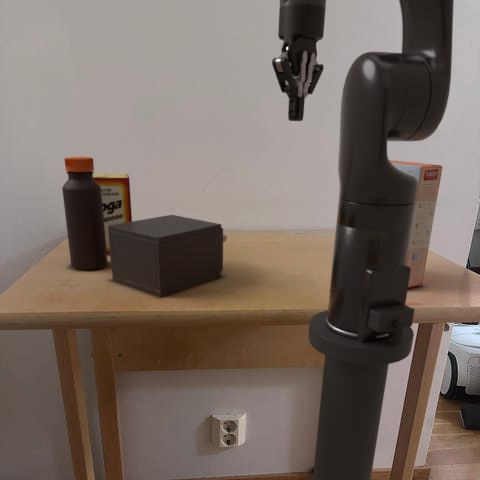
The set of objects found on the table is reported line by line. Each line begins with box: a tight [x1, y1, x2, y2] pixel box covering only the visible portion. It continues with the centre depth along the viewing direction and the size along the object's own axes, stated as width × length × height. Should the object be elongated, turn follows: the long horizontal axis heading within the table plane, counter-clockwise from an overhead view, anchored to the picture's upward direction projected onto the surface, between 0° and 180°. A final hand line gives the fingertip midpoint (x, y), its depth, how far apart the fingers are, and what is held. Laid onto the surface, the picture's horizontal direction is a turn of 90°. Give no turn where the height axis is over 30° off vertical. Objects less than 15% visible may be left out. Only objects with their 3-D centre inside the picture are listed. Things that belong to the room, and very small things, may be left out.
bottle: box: [61, 156, 108, 271], centre depth 91 cm, size 7×7×20 cm
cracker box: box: [389, 159, 443, 289], centre depth 87 cm, size 14×6×21 cm, turn 32°
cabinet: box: [108, 214, 222, 298], centre depth 86 cm, size 15×13×10 cm
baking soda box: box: [93, 172, 133, 255], centre depth 103 cm, size 10×6×16 cm
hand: (295, 120), depth 86 cm, fingers closed
